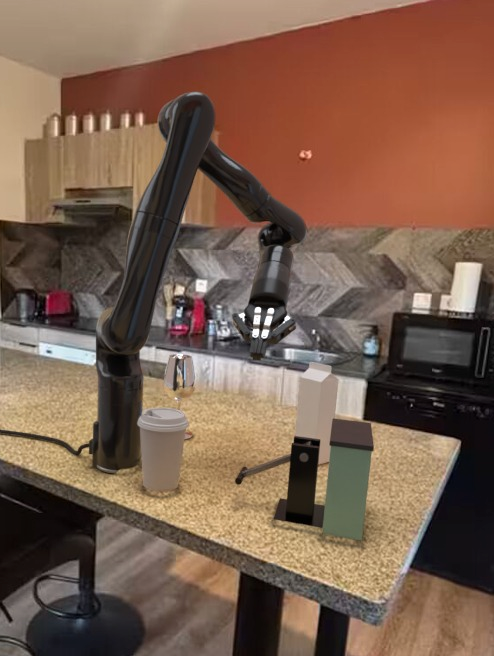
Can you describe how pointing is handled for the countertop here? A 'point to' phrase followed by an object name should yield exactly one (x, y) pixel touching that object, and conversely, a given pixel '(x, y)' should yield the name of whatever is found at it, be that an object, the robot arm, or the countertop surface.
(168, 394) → the wineglass
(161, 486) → the coffee cup
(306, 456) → the black lever stand
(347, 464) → the green lidded box
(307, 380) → the milk
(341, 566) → the countertop surface
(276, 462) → the lever
